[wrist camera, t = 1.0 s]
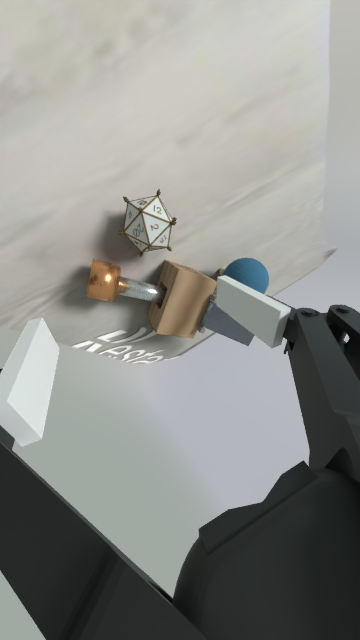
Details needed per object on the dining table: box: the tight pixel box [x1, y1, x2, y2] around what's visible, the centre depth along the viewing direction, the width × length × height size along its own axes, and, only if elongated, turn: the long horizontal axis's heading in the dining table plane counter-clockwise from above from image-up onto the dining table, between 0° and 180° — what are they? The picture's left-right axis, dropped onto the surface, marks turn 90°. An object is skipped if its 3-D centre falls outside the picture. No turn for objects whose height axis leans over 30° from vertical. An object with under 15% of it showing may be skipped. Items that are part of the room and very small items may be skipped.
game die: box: [118, 189, 177, 257], centre depth 29 cm, size 9×8×10 cm
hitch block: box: [147, 260, 217, 338], centre depth 36 cm, size 8×12×9 cm
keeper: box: [199, 301, 254, 346], centre depth 35 cm, size 10×5×1 cm
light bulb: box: [219, 258, 269, 294], centre depth 37 cm, size 8×8×12 cm
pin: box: [86, 259, 167, 304], centre depth 33 cm, size 16×6×6 cm, turn 69°
